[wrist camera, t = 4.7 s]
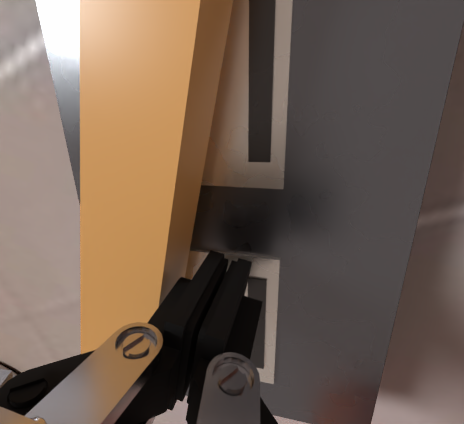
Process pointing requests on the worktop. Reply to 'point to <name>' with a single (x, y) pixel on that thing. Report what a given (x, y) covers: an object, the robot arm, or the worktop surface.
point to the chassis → (310, 177)
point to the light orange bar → (142, 149)
